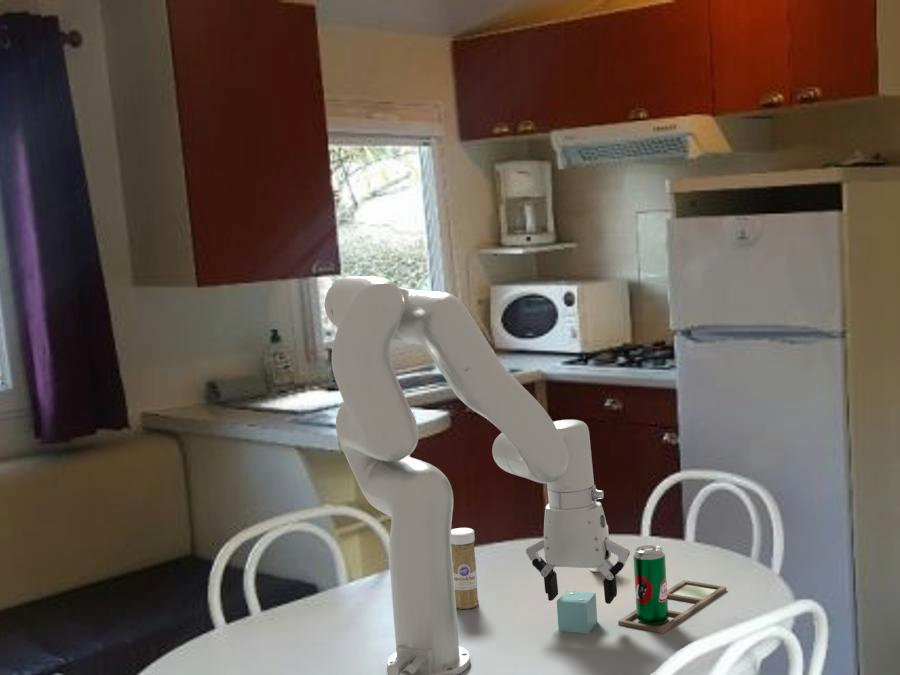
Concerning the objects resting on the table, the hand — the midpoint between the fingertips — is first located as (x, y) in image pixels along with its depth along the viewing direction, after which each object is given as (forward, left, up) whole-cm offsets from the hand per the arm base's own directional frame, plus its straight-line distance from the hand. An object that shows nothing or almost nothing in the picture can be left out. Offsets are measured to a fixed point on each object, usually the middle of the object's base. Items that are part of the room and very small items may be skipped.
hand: (581, 599), depth 182 cm
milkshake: (+27, +6, -5) cm, 28 cm away
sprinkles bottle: (+4, +23, -5) cm, 23 cm away
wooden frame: (+11, -12, -4) cm, 17 cm away
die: (-1, +1, -4) cm, 5 cm away
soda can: (+4, -10, -5) cm, 12 cm away
